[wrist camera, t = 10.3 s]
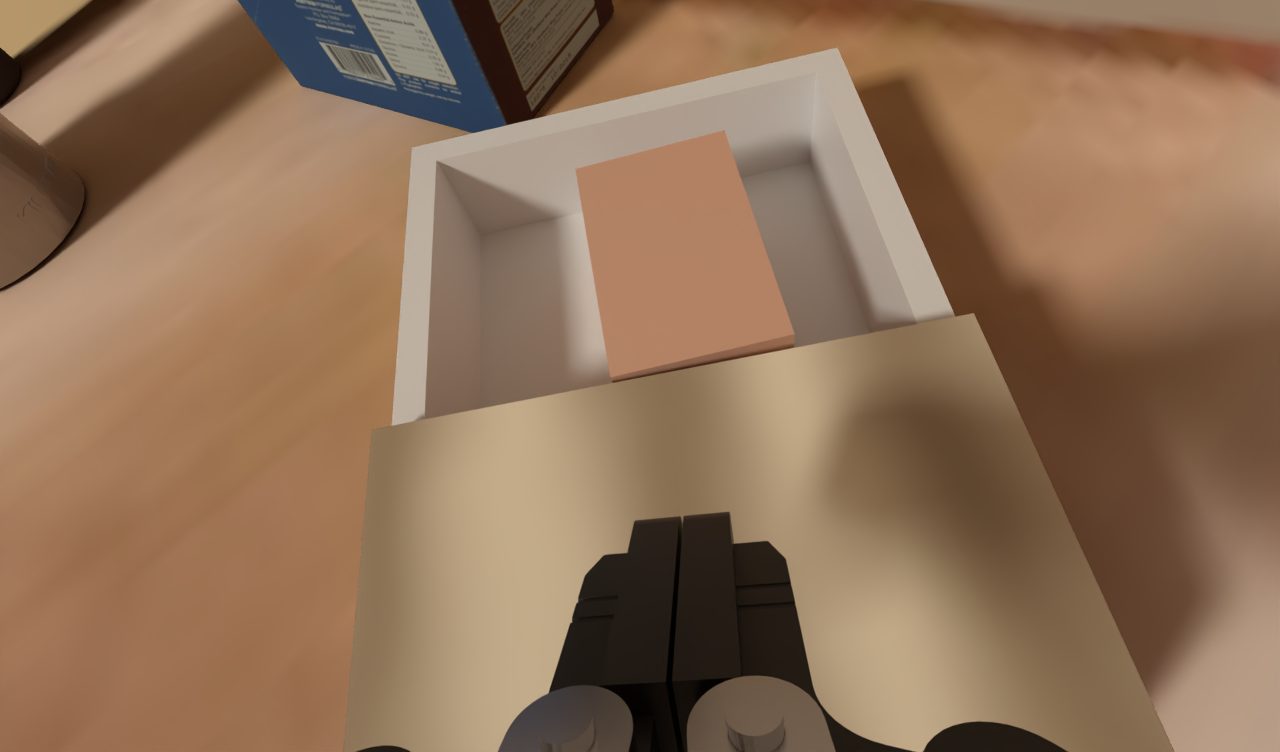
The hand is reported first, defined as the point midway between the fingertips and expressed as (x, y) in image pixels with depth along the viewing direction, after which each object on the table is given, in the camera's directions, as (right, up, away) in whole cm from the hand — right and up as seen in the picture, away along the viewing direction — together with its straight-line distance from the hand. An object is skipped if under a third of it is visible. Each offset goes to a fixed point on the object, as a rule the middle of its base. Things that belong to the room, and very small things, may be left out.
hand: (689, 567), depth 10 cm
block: (+1, +2, +9) cm, 9 cm away
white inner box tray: (0, +6, +15) cm, 16 cm away
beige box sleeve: (+1, -4, +9) cm, 10 cm away
